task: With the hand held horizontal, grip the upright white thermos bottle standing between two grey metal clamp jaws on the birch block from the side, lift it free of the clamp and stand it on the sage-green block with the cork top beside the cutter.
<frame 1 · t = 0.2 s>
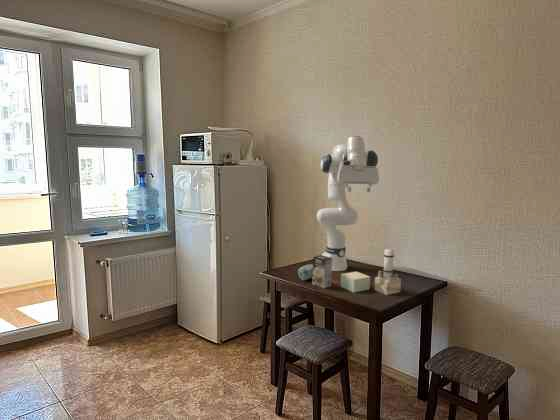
hand: (359, 191, 187), 54 cm above the table, fingers open, 8 cm apart
pad: (354, 287, 211), on the table
spool: (308, 279, 227), on the table
white thermos bottle: (387, 278, 206), point 7 cm above the table, touching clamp
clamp: (387, 290, 207), on the table
coffee box: (321, 285, 215), on the table
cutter: (342, 285, 214), on the table
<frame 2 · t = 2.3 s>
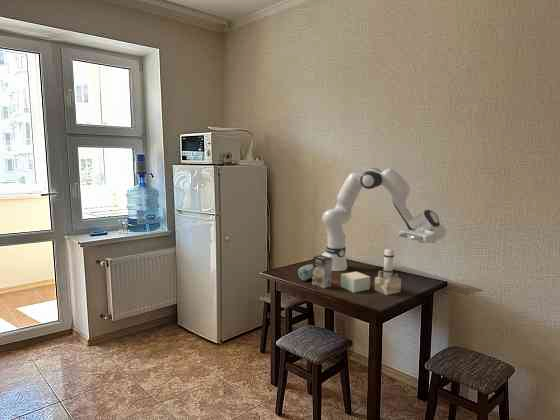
hand: (405, 236, 209), 28 cm above the table, fingers open, 8 cm apart
nothing on the table moved.
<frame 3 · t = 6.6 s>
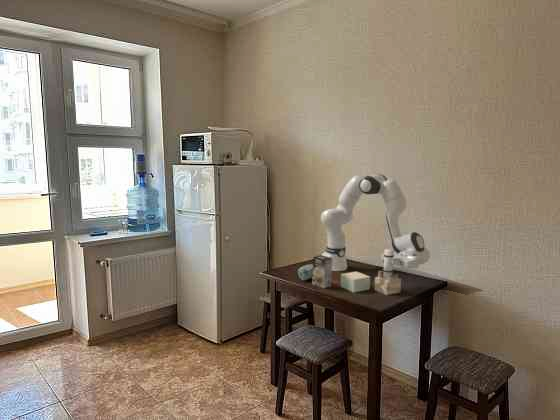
hand: (387, 261, 204), 16 cm above the table, fingers closed on white thermos bottle, 5 cm apart
white thermos bottle: (387, 278, 206), point 7 cm above the table, touching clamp, gripper
everything else where it was.
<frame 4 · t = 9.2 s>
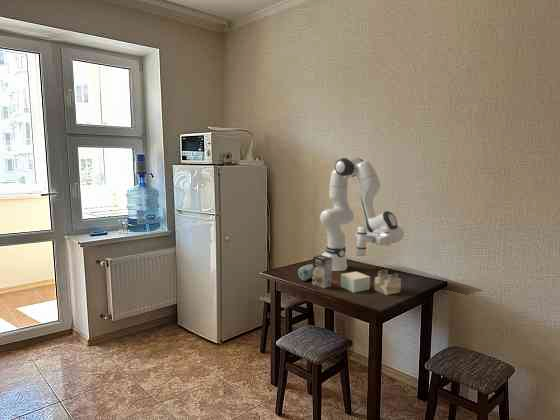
hand: (360, 238, 207), 27 cm above the table, fingers closed on white thermos bottle, 5 cm apart
white thermos bottle: (360, 255, 208), point 18 cm above the table, touching gripper
everything else where it was.
when the fingers open (17 cm above the table, at t = 11.9 s): white thermos bottle drops 1 cm, resting on pad.
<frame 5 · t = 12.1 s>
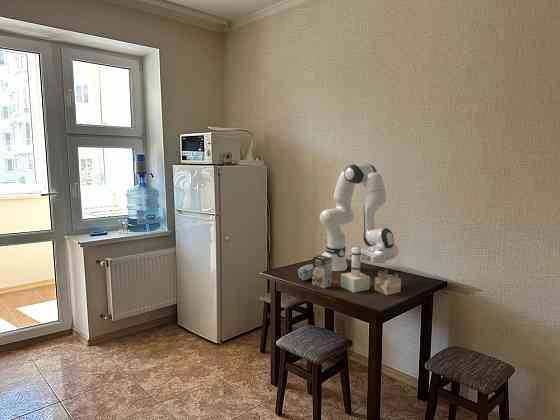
hand: (354, 256, 208), 17 cm above the table, fingers open, 6 cm apart
white thermos bottle: (355, 275, 210), point 7 cm above the table, touching pad
everything else where it was.
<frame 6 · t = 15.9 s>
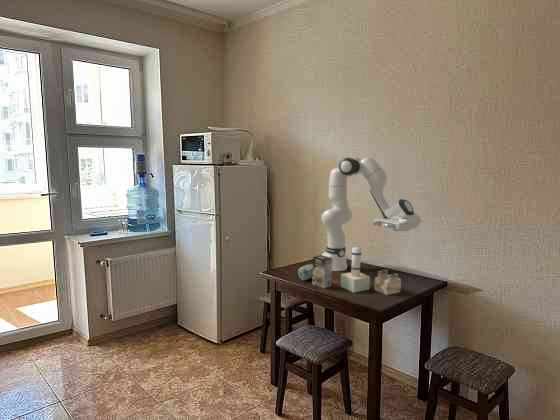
hand: (379, 224, 212), 34 cm above the table, fingers open, 8 cm apart
nothing on the table moved.
at the end: white thermos bottle inside the target area on the pad (0.1 cm from its centre), point 7.0 cm above the pad's base; white thermos bottle tilted 1°; the gripper is holding nothing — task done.
